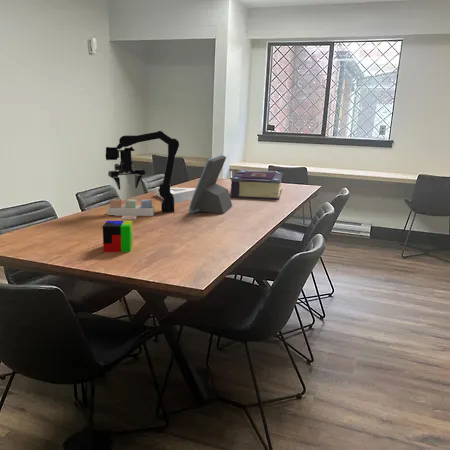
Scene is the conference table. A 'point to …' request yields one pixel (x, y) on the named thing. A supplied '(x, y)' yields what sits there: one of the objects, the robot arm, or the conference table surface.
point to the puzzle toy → (117, 236)
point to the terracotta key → (115, 203)
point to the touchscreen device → (211, 190)
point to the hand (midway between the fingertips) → (127, 189)
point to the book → (256, 185)
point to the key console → (131, 211)
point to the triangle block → (180, 194)
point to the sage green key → (131, 203)
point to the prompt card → (129, 217)
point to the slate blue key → (146, 204)
